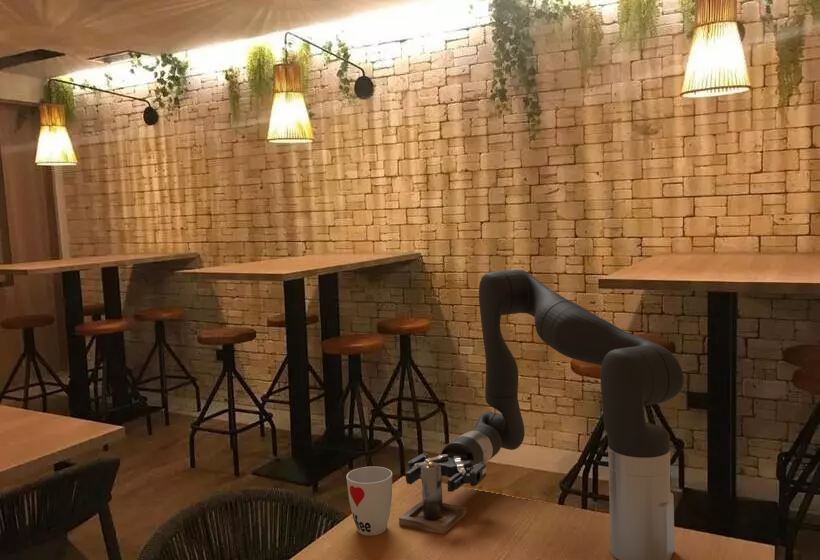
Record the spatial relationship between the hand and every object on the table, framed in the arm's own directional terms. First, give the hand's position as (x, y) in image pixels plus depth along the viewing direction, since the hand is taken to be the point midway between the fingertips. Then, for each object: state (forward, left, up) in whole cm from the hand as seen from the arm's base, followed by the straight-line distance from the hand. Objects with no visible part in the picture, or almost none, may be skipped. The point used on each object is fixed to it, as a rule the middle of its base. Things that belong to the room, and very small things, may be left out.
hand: (428, 482), depth 124 cm
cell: (0, -1, -7) cm, 7 cm away
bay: (0, -1, -7) cm, 7 cm away
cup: (+8, +7, -7) cm, 13 cm away
